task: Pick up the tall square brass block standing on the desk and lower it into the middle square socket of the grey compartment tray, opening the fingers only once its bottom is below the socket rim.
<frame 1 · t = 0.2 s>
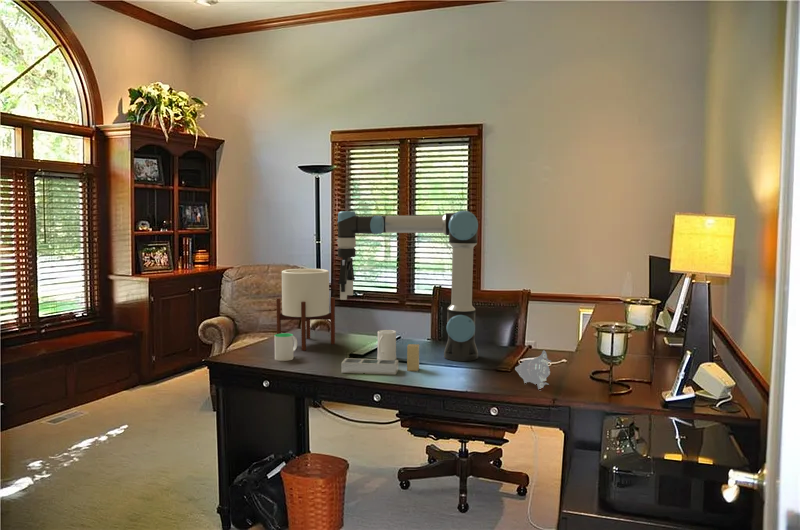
hand: (346, 297, 268), 28 cm above the table, fingers open, 13 cm apart
mug: (384, 359, 275), on the table
grey compartment tray: (370, 371, 254), on the table
plant pot with stand: (306, 344, 304), on the table
figurine: (531, 386, 234), on the table
brass block: (413, 369, 257), on the table
mug 2: (287, 358, 277), on the table
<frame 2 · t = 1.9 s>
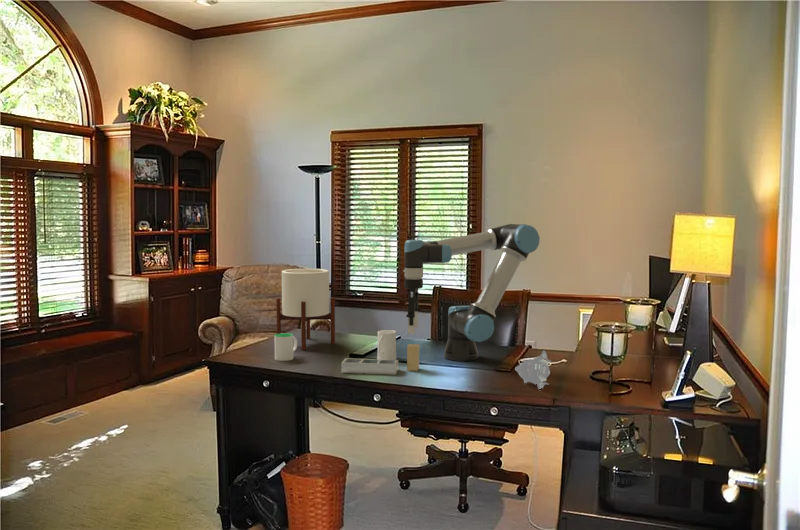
hand: (413, 330, 256), 16 cm above the table, fingers open, 13 cm apart
nothing on the table moved.
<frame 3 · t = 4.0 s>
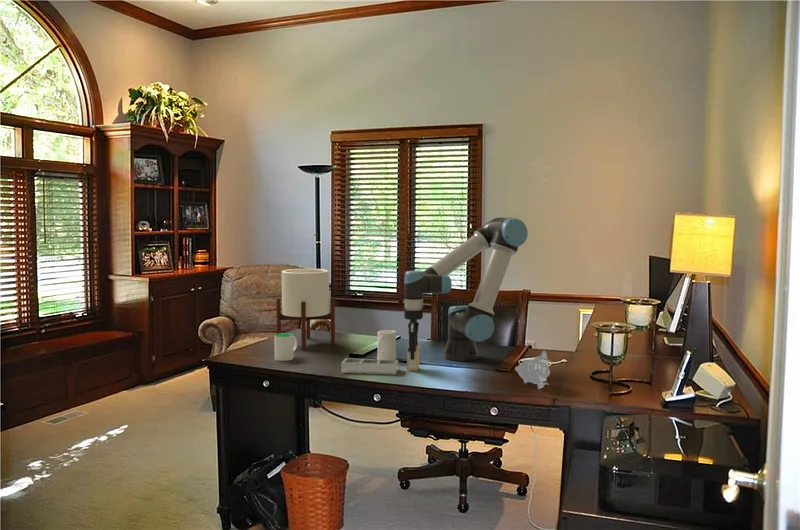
hand: (413, 365, 257), 2 cm above the table, fingers closed on brass block, 4 cm apart
brass block: (413, 369, 257), on the table, touching gripper
everything else where it was.
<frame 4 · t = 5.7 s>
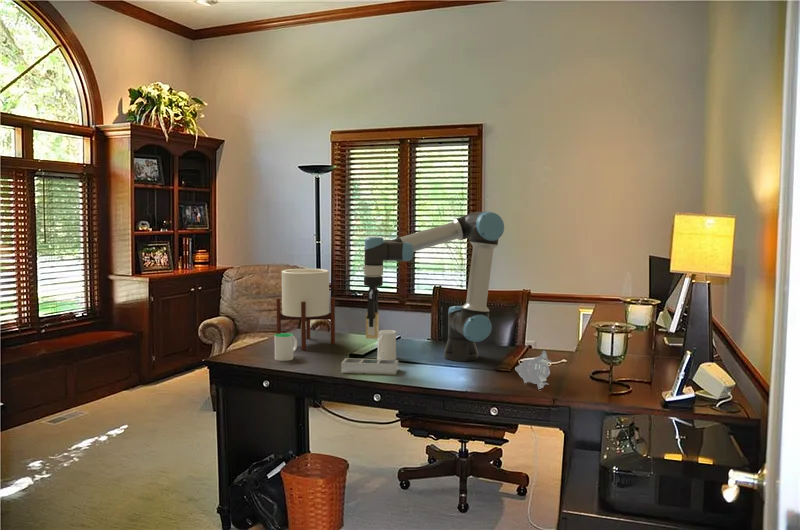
hand: (372, 333, 253), 15 cm above the table, fingers closed on brass block, 4 cm apart
brass block: (372, 337, 253), point 14 cm above the table, touching gripper
everything else where it was.
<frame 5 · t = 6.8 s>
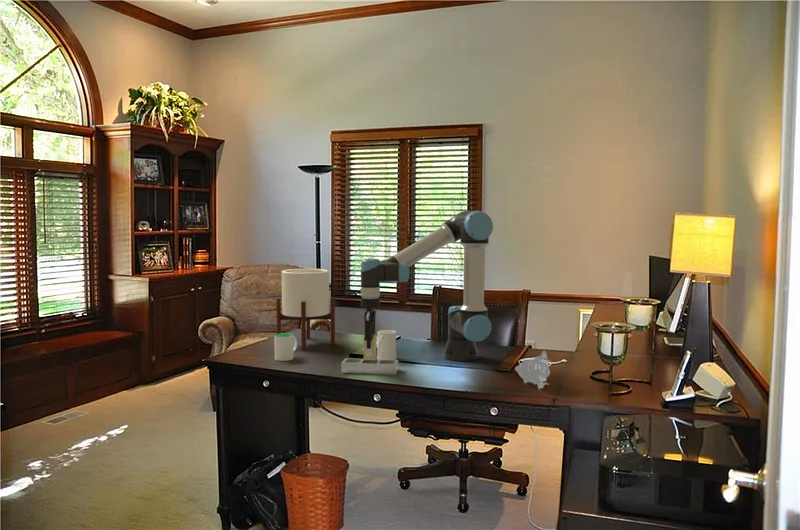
hand: (370, 354, 253), 7 cm above the table, fingers closed on brass block, 4 cm apart
brass block: (370, 358, 254), point 5 cm above the table, touching gripper
everything else where it was.
when the fingers open (5 cm above the table, at t = 7.4 s): brass block drops 2 cm, resting on grey compartment tray.
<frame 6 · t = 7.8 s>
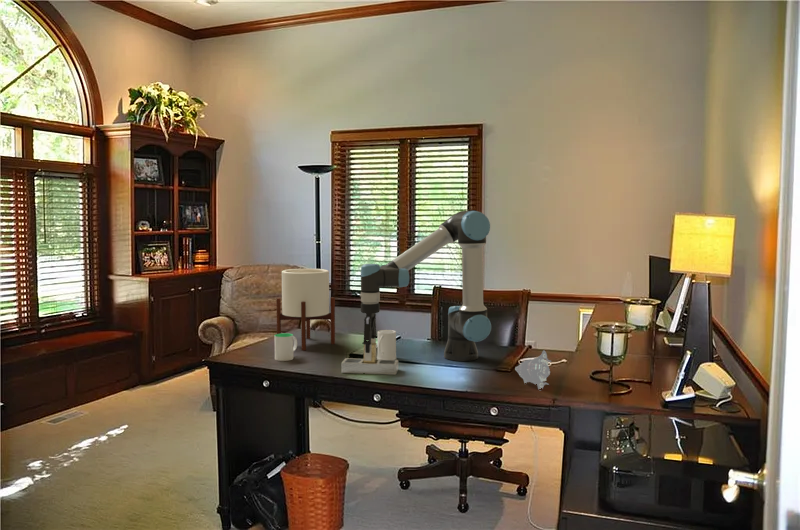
hand: (370, 357, 254), 6 cm above the table, fingers open, 10 cm apart
brass block: (370, 368, 254), point 1 cm above the table, touching grey compartment tray
everything else where it was.
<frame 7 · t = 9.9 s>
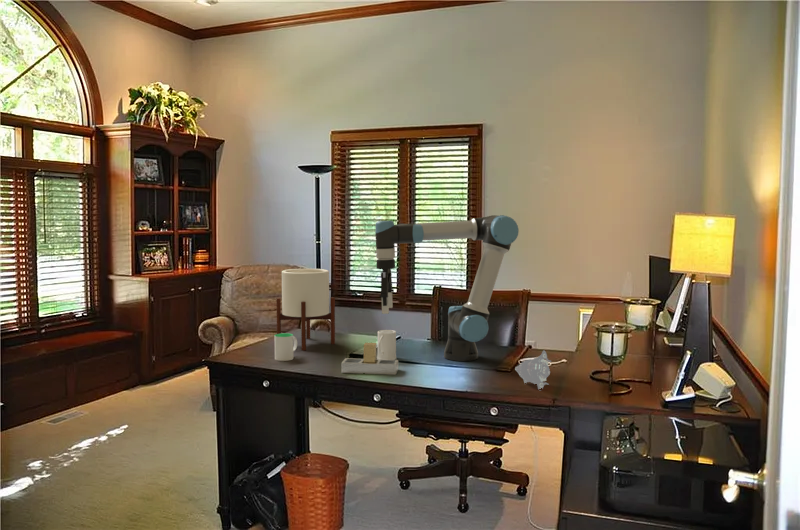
hand: (387, 310, 257), 24 cm above the table, fingers open, 13 cm apart
nothing on the table moved.
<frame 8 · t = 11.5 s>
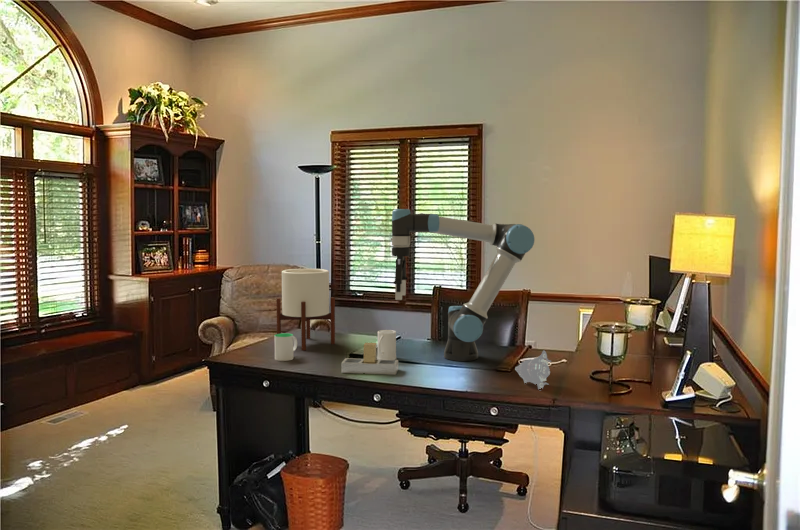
hand: (400, 297, 261), 29 cm above the table, fingers open, 13 cm apart
nothing on the table moved.
at the end: brass block 0.1 cm off-centre on the grey compartment tray, point 1.2 cm above the grey compartment tray's base; brass block tilted 0°; the gripper is holding nothing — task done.
